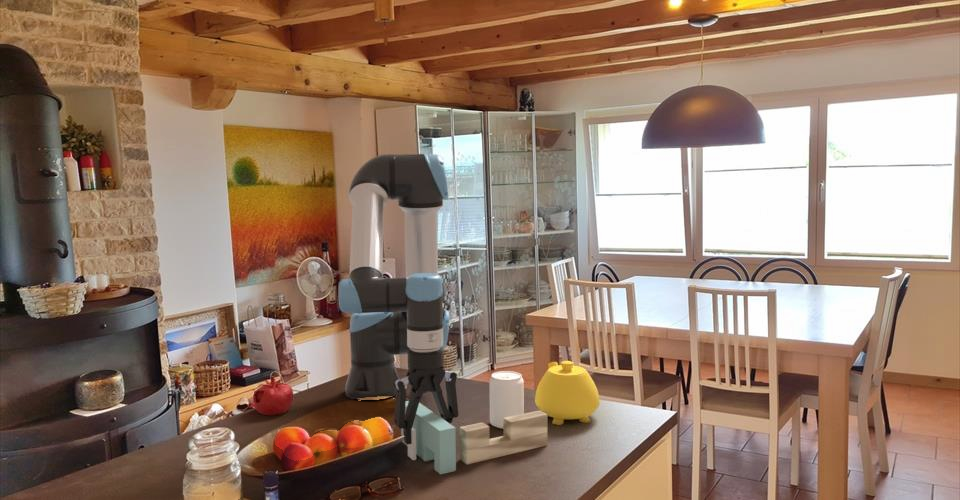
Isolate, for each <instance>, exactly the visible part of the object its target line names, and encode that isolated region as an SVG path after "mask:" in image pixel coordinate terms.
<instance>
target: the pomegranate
mask: <svg viewBox="0 0 960 500" xmlns="http://www.w3.org/2000/svg"><path fill="white" fill-rule="evenodd" d="M275 377H276V376H275V375H272V376H270V378H269V379H270V381H268V380H263V382H265V383H260V384H259V385H258V386H256V387H257V389H256V391H255V392H254V393H253V395H252V402H253V406H254V408H255V410H256V412H258V413H259V414H261V415H266V416H276V415H281V414H285V413H286V412H287V411H288V410H289V409H290V408H291V407H292V405H293V401H294V397H295V396H294V390H293V388H292V386H290V385H289V384H288V383H283V382H281V381H285V382H286V381H287V379H283V378H280V379H278V380H277V381H276V378H275Z"/></svg>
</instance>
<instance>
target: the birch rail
mask: <svg viewBox="0 0 960 500" xmlns="http://www.w3.org/2000/svg"><path fill="white" fill-rule="evenodd" d="M547 446H548V416H547V414H546V413H544V412H542V411H541V410H540V409H539V410H535V411H530V412H526V413H525V412H524V414H520V415H515V416H510V417H506V418H503V435H501V436H495V437H493V438H492V437H491V438H490V426H489V425H488V424H486V423H484V422H477V423H473V424H468V425H462V426H459V460H460V461H462V462H463V463H464V464H465V465H472V464H475V463H479V462H483V461H484V462H485V461H488V460H491V459H496V458H499V457H504V456H508V455H512V454H518V453H521V452H526V451H530V450H533V449H538V448H541V447H547Z"/></svg>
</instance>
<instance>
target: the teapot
mask: <svg viewBox="0 0 960 500" xmlns="http://www.w3.org/2000/svg"><path fill="white" fill-rule="evenodd" d="M574 363H575V362H574V361H571V360H563V361H560V364H559V363H558V362H557V361H551V362H549V363H548V364H547V366H548V367H547V368H548V369H547V370H546V372H545V373H544V375H543V376H542V377H541V379H540V381H539V383H538V385H537V388H536V392H535V397H534V403H535V405H536V407H537V408H538V409H539V410H540V411H542V412H544V413H546V414H547V417H551V418H553V419H552V422H551V423H552V424H553V425H555V424H556V425H557V426H562V425H563V424H564V423H565V420H578V422H581V423H585V424H586V423H590V422H591V418H589V417H590V416H591V415H593V414H594V413H595V411H597V409H599V406H600V395H599V391H598V388H597V386H596V383H595V381H594V380H593V378H592V377H591V375H590V373H589V372H588V371H587V369H585V368H584V367H583V366H578V365H575V364H574Z"/></svg>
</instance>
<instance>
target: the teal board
mask: <svg viewBox="0 0 960 500" xmlns="http://www.w3.org/2000/svg"><path fill="white" fill-rule="evenodd" d="M408 402H409V400H406V403H405V413H406V409H407V405H408ZM412 427H413V428H414V429H416V456H418V457H419V458H421V459H422V460H423V461H424V462H428V461H433V460H434V461H433V462H434V469H433V470H434V471H435V472H436V473H438V474H439V475H444V474H448V473H452V472H455V471H457V451H456V448H457V446H456V444H457V443H456V440H457V439H456V437H457V436H456V427H455V426H454V425H453V424H451V423H448V422H447V421H445V420H444V419H442V418H441V416H440V415H438V414H437V413H435V412H433V411H432V410H431V409H429V408H428V407H427V406H425V405H424V404H423V403H421V402H419V405H418V408H417V412H416V416H415V419H414V423H413V426H412ZM401 435H403V428H402V429H400V436H401ZM401 442H402V443H403V444H404V445H406V447H408V445H407V444H406V443H405V442H404V440H403V441H401Z"/></svg>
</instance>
